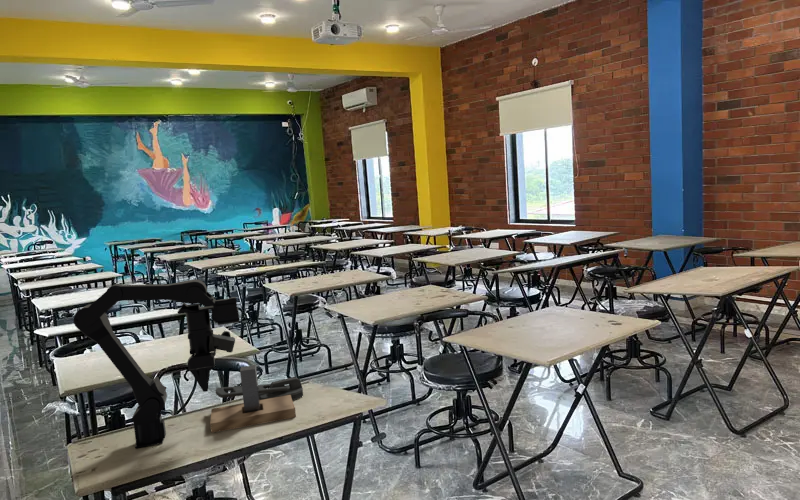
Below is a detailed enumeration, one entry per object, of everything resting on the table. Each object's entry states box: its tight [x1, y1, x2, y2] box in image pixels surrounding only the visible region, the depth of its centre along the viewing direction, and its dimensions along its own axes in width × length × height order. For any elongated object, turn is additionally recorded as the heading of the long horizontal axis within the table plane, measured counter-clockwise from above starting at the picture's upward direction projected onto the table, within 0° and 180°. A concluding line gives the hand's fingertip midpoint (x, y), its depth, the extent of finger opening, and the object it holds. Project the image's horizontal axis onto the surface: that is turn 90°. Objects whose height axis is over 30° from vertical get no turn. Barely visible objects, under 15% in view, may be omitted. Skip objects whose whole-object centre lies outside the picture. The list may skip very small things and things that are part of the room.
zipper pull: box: [215, 376, 304, 401], centre depth 168 cm, size 9×7×25 cm
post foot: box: [209, 395, 297, 434], centre depth 156 cm, size 22×12×2 cm, turn 107°
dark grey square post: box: [239, 364, 261, 413], centre depth 156 cm, size 4×4×14 cm
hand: (206, 386), depth 149 cm, fingers open, 9 cm apart
